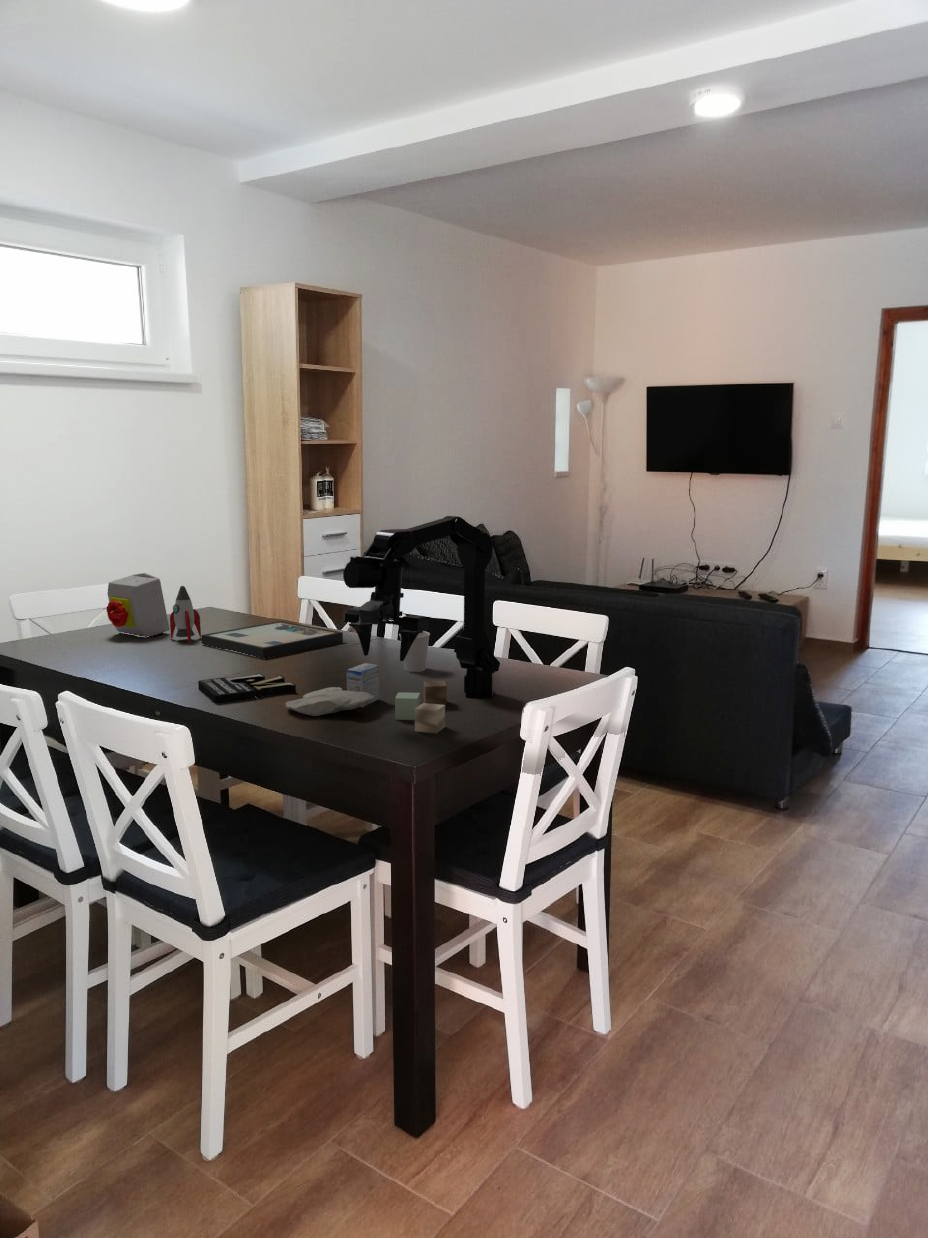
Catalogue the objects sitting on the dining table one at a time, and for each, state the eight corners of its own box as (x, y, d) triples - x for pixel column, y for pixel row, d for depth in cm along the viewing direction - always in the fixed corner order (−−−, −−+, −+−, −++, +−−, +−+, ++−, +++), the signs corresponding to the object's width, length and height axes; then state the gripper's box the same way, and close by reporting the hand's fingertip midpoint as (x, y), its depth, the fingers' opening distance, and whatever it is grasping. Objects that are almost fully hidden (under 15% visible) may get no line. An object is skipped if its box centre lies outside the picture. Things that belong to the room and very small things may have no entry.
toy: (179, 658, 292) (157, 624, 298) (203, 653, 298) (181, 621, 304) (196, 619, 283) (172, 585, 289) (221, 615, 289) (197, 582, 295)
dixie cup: (397, 666, 258) (397, 631, 257) (427, 665, 260) (427, 629, 258) (402, 673, 250) (401, 637, 249) (432, 672, 252) (432, 635, 250)
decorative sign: (197, 680, 236) (274, 671, 245) (198, 690, 236) (274, 680, 246) (215, 695, 221) (296, 685, 231) (216, 706, 222) (297, 695, 231)
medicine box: (364, 697, 227) (363, 662, 225) (380, 699, 225) (379, 664, 223) (346, 705, 220) (345, 669, 218) (362, 708, 218) (362, 671, 216)
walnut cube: (444, 701, 224) (444, 680, 223) (446, 706, 219) (446, 685, 218) (423, 701, 223) (423, 681, 222) (425, 707, 218) (425, 686, 218)
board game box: (342, 632, 290) (263, 648, 267) (343, 644, 291) (263, 661, 268) (280, 621, 310) (201, 634, 287) (280, 632, 310) (202, 647, 288)
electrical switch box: (103, 642, 302) (90, 583, 296) (142, 628, 313) (131, 571, 307) (131, 648, 293) (118, 587, 287) (170, 633, 305) (159, 574, 299)
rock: (326, 729, 203) (379, 709, 213) (323, 709, 202) (376, 690, 212) (272, 717, 218) (324, 699, 228) (269, 698, 217) (321, 680, 227)
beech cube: (445, 727, 203) (444, 705, 202) (436, 733, 198) (436, 711, 197) (423, 725, 205) (423, 703, 204) (414, 731, 200) (414, 709, 199)
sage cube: (420, 714, 213) (420, 692, 212) (417, 720, 208) (417, 698, 207) (398, 713, 213) (398, 692, 213) (395, 720, 209) (394, 698, 208)
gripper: (331, 585, 202) (327, 656, 204) (407, 594, 194) (402, 668, 196) (359, 583, 212) (355, 651, 214) (432, 591, 204) (427, 662, 206)
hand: (383, 658), depth 207 cm, fingers open, 9 cm apart
